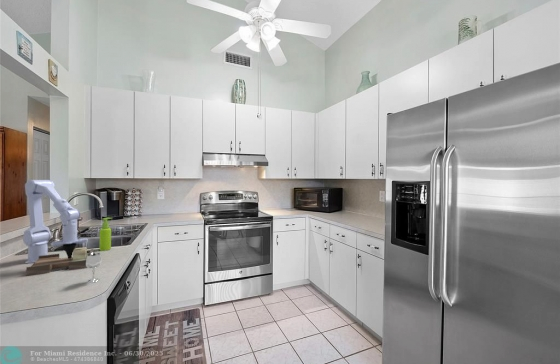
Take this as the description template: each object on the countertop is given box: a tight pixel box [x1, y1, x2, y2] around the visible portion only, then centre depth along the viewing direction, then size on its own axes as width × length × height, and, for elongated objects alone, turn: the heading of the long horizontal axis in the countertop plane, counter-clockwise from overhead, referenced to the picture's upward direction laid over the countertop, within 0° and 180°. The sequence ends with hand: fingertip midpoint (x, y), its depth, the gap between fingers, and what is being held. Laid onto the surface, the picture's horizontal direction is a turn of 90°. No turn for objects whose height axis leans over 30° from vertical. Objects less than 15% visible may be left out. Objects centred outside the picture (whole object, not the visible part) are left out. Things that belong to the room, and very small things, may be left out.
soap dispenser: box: [99, 217, 113, 252], centre depth 155 cm, size 6×7×20 cm
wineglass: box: [86, 252, 103, 284], centre depth 110 cm, size 6×6×12 cm
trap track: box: [25, 248, 95, 277], centre depth 127 cm, size 19×23×4 cm
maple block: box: [72, 246, 88, 260], centre depth 130 cm, size 5×5×5 cm
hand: (69, 258), depth 128 cm, fingers closed
